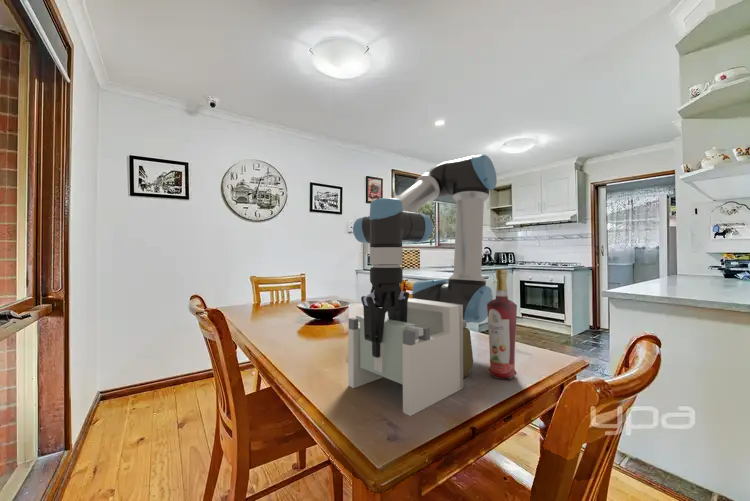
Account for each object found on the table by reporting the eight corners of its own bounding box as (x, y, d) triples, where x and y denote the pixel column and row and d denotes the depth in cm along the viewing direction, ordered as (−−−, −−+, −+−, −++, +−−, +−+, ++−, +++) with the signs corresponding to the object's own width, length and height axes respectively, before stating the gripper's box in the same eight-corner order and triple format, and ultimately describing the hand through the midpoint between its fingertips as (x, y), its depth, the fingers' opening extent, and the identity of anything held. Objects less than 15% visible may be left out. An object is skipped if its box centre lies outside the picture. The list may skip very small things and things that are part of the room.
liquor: (523, 377, 83) (522, 270, 83) (506, 384, 79) (505, 270, 79) (498, 369, 89) (498, 268, 89) (481, 374, 85) (480, 269, 85)
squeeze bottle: (436, 370, 88) (436, 305, 88) (460, 366, 91) (459, 303, 91) (454, 381, 80) (454, 310, 81) (480, 376, 84) (479, 308, 84)
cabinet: (401, 366, 91) (401, 296, 91) (463, 388, 77) (462, 304, 77) (348, 385, 78) (348, 304, 78) (410, 416, 63) (409, 315, 64)
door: (364, 360, 82) (364, 313, 82) (427, 384, 67) (427, 326, 67) (352, 364, 79) (351, 315, 79) (415, 389, 64) (414, 330, 64)
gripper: (399, 264, 82) (400, 356, 82) (346, 267, 70) (347, 373, 70) (422, 265, 76) (423, 363, 76) (369, 268, 65) (369, 383, 65)
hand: (386, 367), depth 73 cm, fingers closed on door, 4 cm apart
